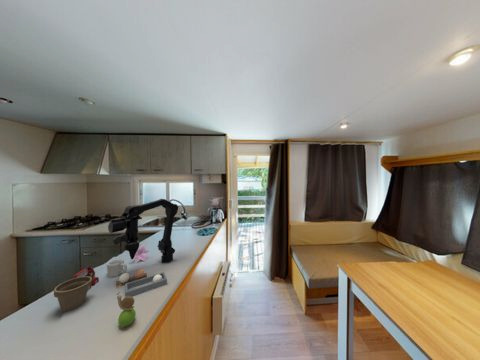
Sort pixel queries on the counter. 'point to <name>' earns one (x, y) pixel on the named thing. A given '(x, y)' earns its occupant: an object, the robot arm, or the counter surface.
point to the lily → (141, 254)
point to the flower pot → (72, 292)
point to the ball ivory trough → (157, 278)
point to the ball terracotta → (139, 273)
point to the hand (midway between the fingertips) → (132, 255)
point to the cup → (116, 267)
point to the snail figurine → (126, 310)
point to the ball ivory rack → (124, 278)
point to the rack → (131, 279)
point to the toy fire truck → (90, 273)
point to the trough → (146, 287)
